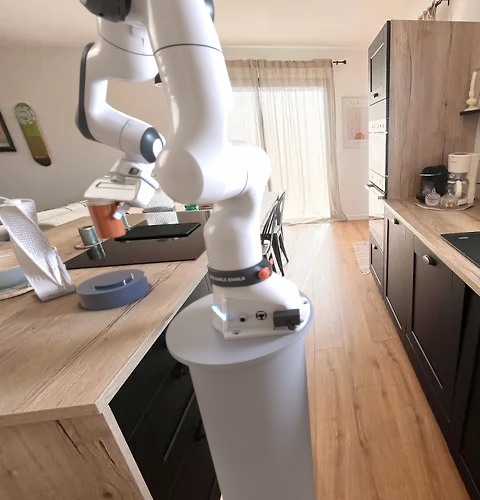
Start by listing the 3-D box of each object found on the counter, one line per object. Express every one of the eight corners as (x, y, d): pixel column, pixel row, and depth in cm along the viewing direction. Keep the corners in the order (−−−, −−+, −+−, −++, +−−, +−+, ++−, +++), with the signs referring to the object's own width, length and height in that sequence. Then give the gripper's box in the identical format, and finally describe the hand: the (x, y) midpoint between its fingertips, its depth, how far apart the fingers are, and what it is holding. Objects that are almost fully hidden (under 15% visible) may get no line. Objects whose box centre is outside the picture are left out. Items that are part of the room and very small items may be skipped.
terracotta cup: (132, 231, 84) (122, 197, 81) (114, 239, 78) (103, 202, 74) (109, 231, 84) (98, 197, 81) (90, 239, 78) (77, 202, 74)
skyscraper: (35, 304, 76) (-13, 198, 66) (27, 295, 80) (-20, 195, 70) (76, 291, 82) (38, 193, 72) (67, 283, 86) (29, 190, 76)
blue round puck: (160, 282, 87) (156, 266, 85) (124, 310, 73) (118, 291, 71) (111, 282, 87) (106, 266, 85) (65, 310, 73) (58, 291, 71)
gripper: (92, 168, 84) (65, 208, 79) (146, 170, 78) (121, 213, 73) (112, 181, 89) (88, 220, 84) (164, 185, 84) (141, 225, 79)
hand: (104, 217), depth 79 cm, fingers closed on terracotta cup, 6 cm apart
